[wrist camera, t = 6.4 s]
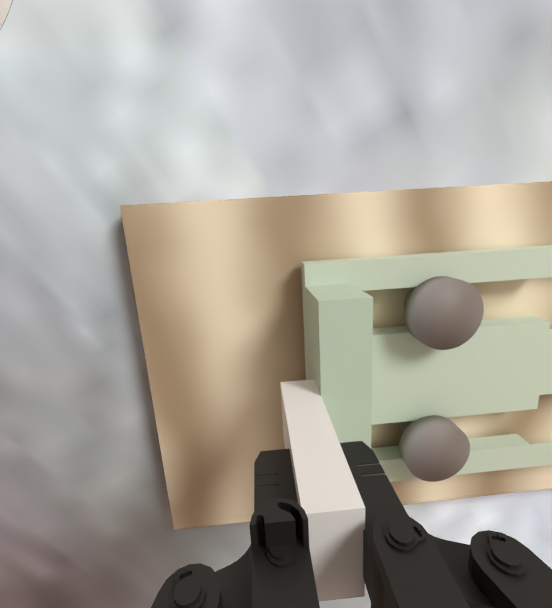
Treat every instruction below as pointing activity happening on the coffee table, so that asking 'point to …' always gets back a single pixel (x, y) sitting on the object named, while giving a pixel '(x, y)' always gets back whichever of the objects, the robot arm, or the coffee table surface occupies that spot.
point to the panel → (425, 354)
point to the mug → (4, 10)
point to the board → (290, 328)
